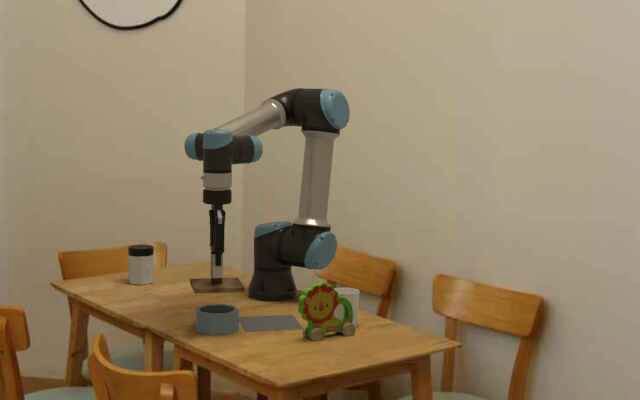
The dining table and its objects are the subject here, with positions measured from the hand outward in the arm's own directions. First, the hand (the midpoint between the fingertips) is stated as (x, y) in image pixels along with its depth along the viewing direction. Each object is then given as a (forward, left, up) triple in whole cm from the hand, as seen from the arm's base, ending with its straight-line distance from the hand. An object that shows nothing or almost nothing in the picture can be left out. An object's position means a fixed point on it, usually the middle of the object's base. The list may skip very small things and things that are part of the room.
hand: (216, 276), depth 254 cm
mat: (-15, -4, -15) cm, 22 cm away
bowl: (0, 0, -15) cm, 15 cm away
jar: (+17, -64, -15) cm, 68 cm away
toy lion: (-27, +12, -15) cm, 33 cm away
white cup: (-35, +1, -15) cm, 38 cm away
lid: (0, 0, -3) cm, 3 cm away
